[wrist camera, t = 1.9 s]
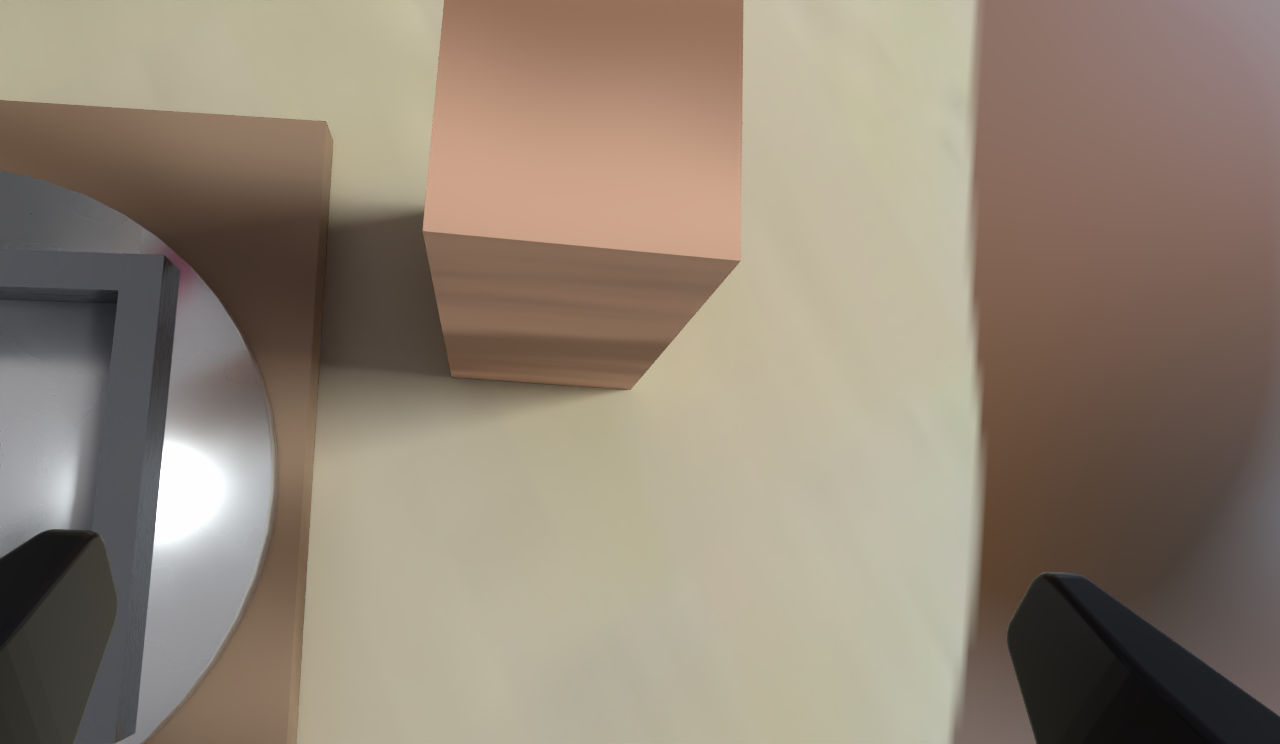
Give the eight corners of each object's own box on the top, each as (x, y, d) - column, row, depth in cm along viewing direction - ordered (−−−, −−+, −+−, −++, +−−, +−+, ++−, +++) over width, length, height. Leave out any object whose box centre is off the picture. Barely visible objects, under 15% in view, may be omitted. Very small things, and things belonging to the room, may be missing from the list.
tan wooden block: (630, 389, 22) (740, 260, 13) (451, 377, 21) (422, 230, 12) (637, 224, 23) (743, -13, 14) (465, 207, 22) (449, -56, 13)
